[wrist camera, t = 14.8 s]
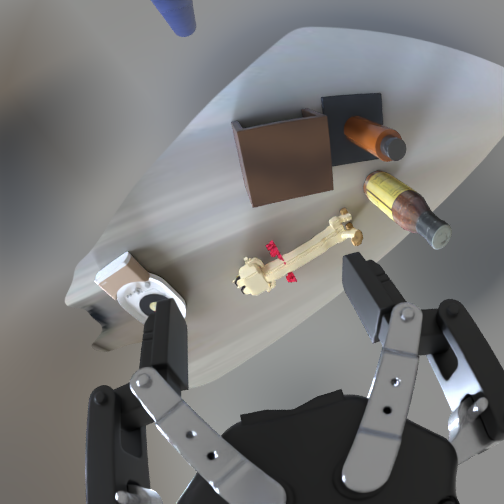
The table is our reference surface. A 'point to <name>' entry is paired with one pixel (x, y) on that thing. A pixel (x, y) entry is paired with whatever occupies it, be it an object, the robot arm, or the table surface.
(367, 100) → the mat
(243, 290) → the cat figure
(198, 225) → the table surface
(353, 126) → the spice bottle
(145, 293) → the record player
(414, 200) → the sauce bottle
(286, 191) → the brown open box
